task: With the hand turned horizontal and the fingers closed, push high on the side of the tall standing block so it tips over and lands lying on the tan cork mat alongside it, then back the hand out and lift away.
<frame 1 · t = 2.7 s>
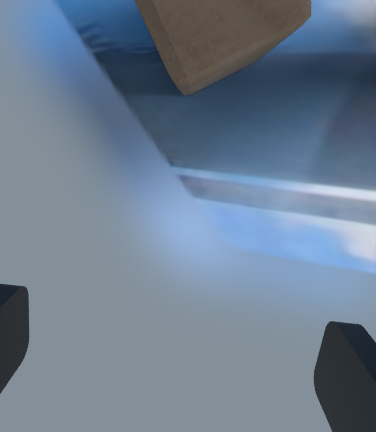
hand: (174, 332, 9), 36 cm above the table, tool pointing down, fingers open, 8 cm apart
block: (203, 37, 40), on the table
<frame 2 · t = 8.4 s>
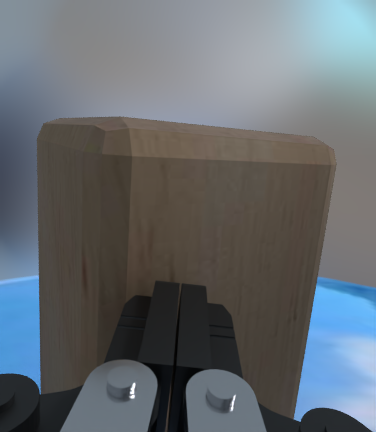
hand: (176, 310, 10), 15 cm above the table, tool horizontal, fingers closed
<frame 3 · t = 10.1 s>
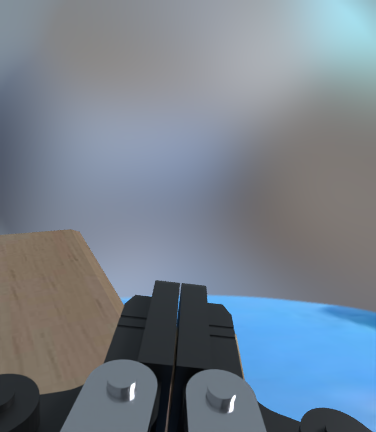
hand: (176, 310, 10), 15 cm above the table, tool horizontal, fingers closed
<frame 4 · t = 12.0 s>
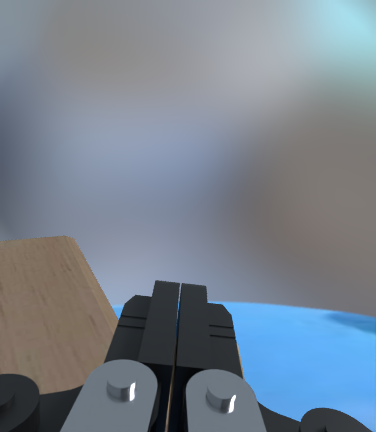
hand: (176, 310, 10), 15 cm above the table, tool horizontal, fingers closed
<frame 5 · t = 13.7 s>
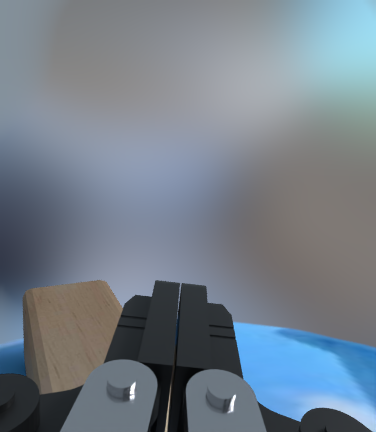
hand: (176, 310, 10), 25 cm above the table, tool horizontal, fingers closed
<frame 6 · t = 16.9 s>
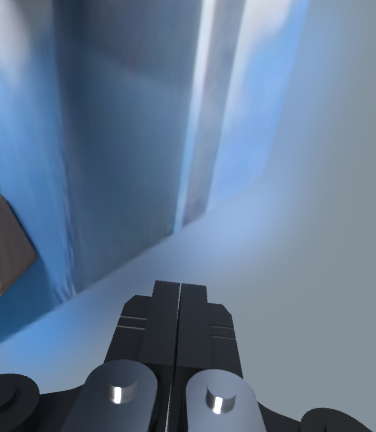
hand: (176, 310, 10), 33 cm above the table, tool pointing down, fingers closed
block: (4, 238, 39), point 5 cm above the table, touching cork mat
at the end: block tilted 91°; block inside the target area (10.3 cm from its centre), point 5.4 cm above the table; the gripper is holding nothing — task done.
